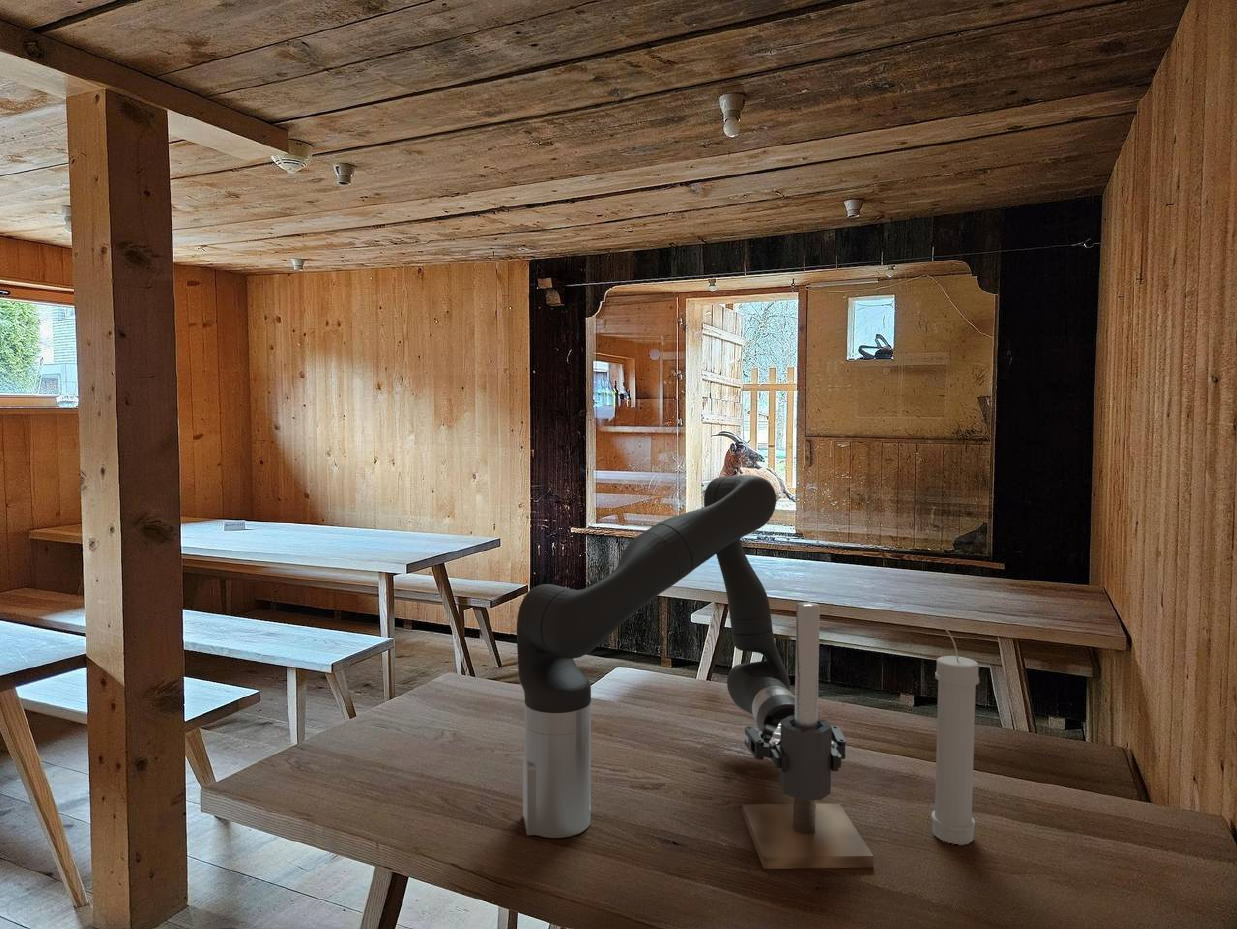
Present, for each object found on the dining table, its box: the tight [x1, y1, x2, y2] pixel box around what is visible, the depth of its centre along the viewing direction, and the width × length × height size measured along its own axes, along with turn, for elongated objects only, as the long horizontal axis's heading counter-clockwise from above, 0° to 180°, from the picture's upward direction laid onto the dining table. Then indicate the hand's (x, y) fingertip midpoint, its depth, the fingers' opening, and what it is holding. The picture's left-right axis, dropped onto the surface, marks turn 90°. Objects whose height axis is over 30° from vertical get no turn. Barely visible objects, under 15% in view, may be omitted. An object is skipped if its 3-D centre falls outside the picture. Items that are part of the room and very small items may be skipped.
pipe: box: [930, 617, 980, 846], centre depth 108 cm, size 6×6×30 cm
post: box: [742, 602, 874, 870], centre depth 107 cm, size 14×14×32 cm
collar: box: [779, 715, 832, 801], centre depth 107 cm, size 6×6×9 cm
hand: (810, 764), depth 105 cm, fingers closed on collar, 6 cm apart
